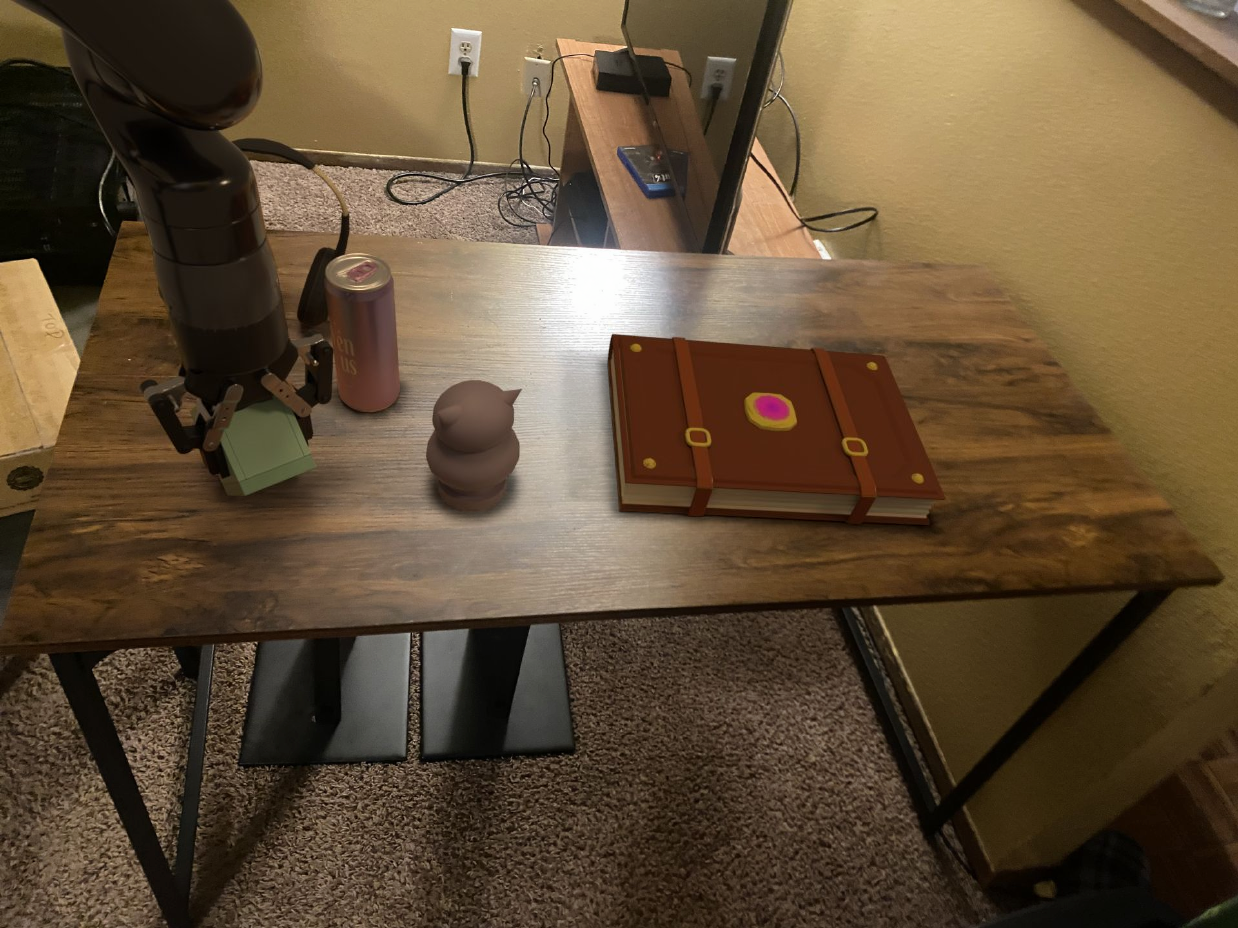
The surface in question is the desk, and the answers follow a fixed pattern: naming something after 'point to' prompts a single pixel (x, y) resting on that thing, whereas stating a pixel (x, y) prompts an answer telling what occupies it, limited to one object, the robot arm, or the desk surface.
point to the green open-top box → (263, 447)
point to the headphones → (313, 293)
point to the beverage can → (363, 330)
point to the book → (764, 433)
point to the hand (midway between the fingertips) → (262, 455)
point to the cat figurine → (473, 444)
